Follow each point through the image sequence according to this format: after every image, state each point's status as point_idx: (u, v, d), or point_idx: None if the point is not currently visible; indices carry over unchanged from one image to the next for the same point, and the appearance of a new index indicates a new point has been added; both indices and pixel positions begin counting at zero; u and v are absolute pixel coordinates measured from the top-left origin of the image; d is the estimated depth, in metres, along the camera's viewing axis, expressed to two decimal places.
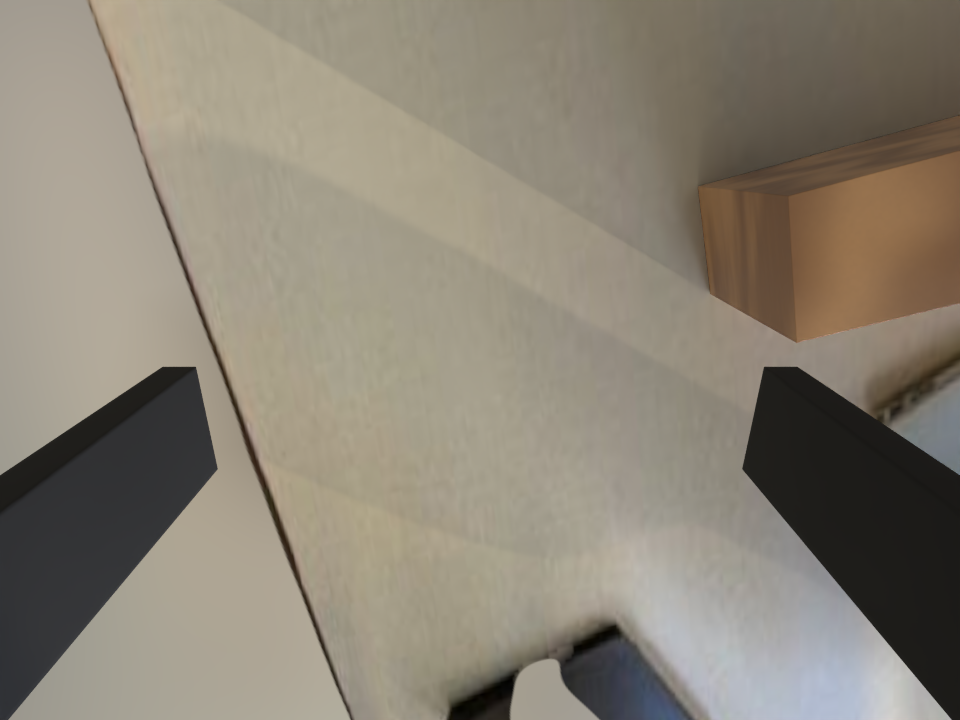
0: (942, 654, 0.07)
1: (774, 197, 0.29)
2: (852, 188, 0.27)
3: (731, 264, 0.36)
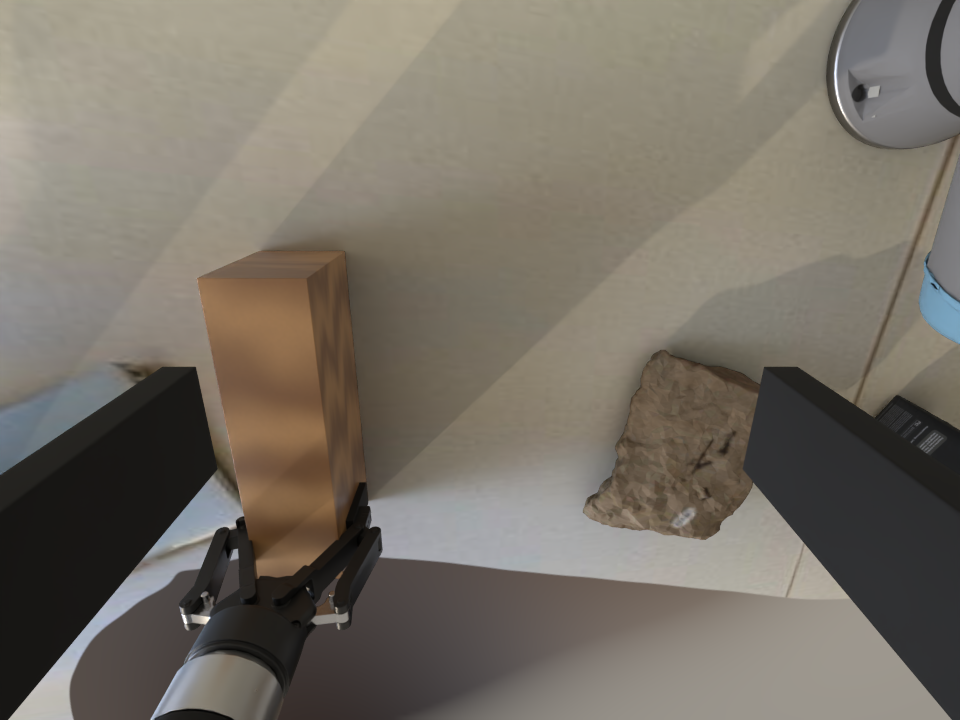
0: (942, 654, 0.07)
1: (309, 274, 0.41)
2: (305, 319, 0.41)
3: (275, 259, 0.47)
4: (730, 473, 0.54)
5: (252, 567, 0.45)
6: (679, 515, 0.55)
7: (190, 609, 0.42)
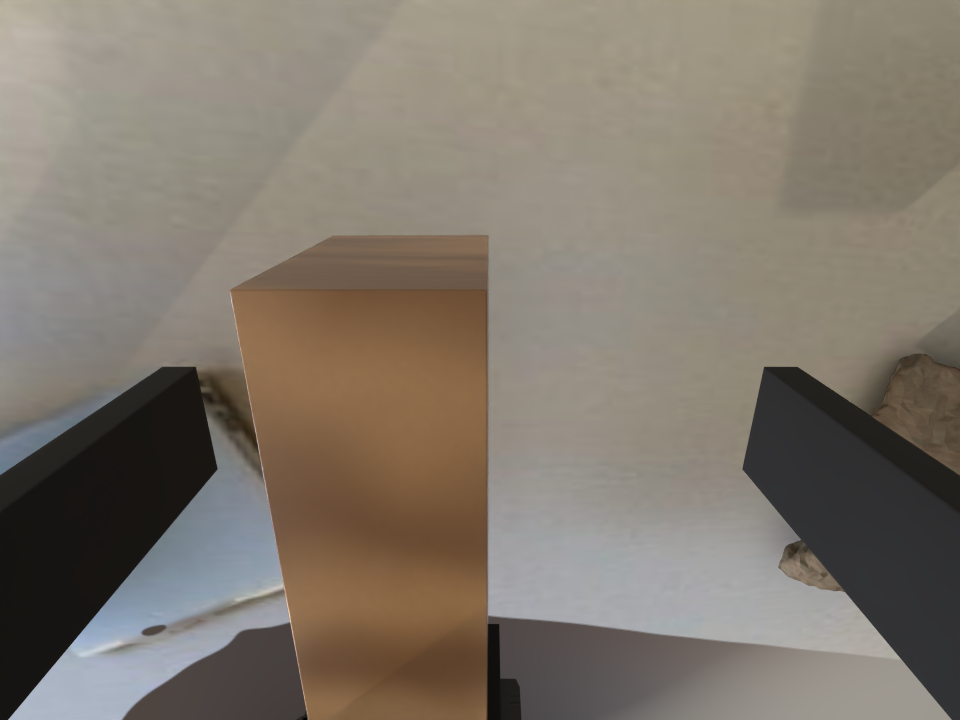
0: (942, 655, 0.07)
1: (482, 280, 0.18)
2: (472, 382, 0.18)
3: (375, 249, 0.24)
4: None
5: None
6: None
7: None
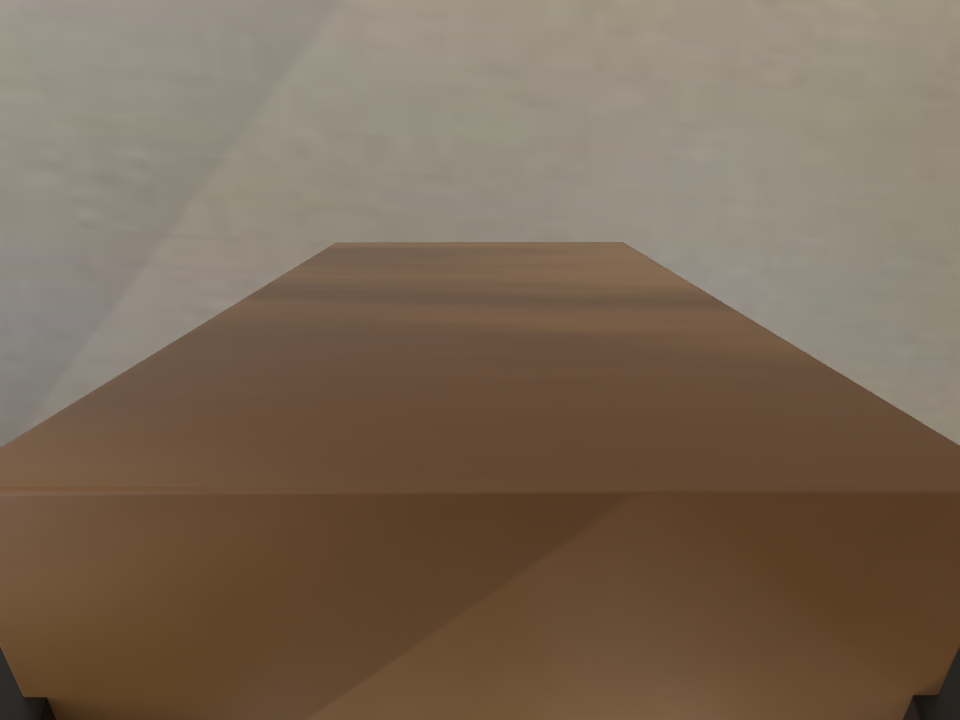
0: None
1: (888, 411, 0.05)
2: None
3: (435, 275, 0.11)
4: None
5: None
6: None
7: None
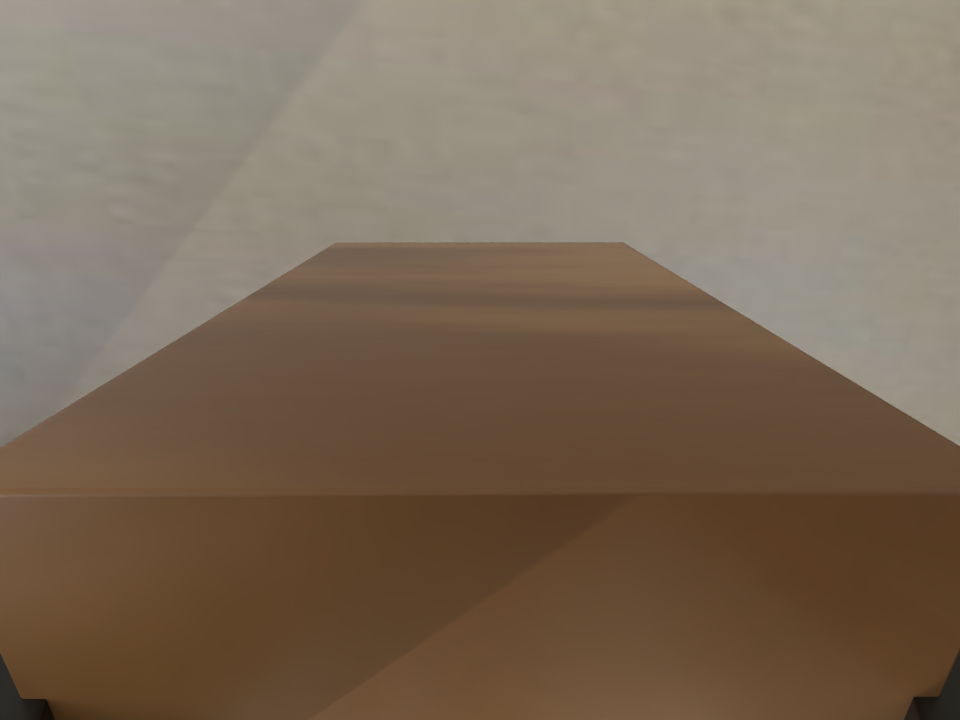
0: None
1: (889, 411, 0.05)
2: None
3: (434, 275, 0.11)
4: None
5: None
6: None
7: None
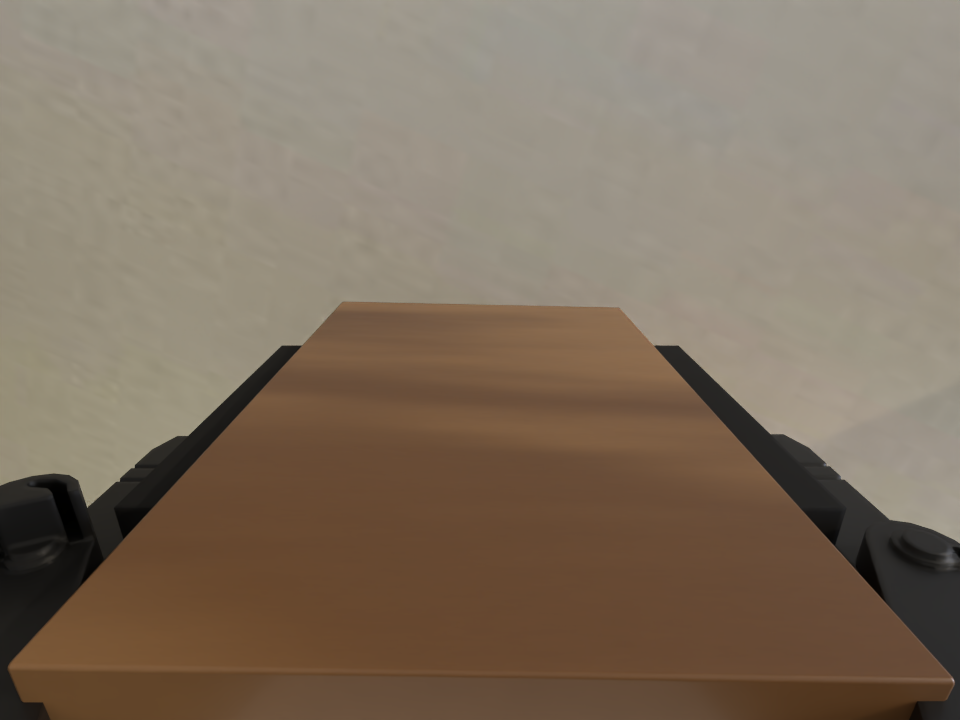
0: None
1: (845, 572, 0.06)
2: None
3: (439, 357, 0.12)
4: None
5: None
6: None
7: None
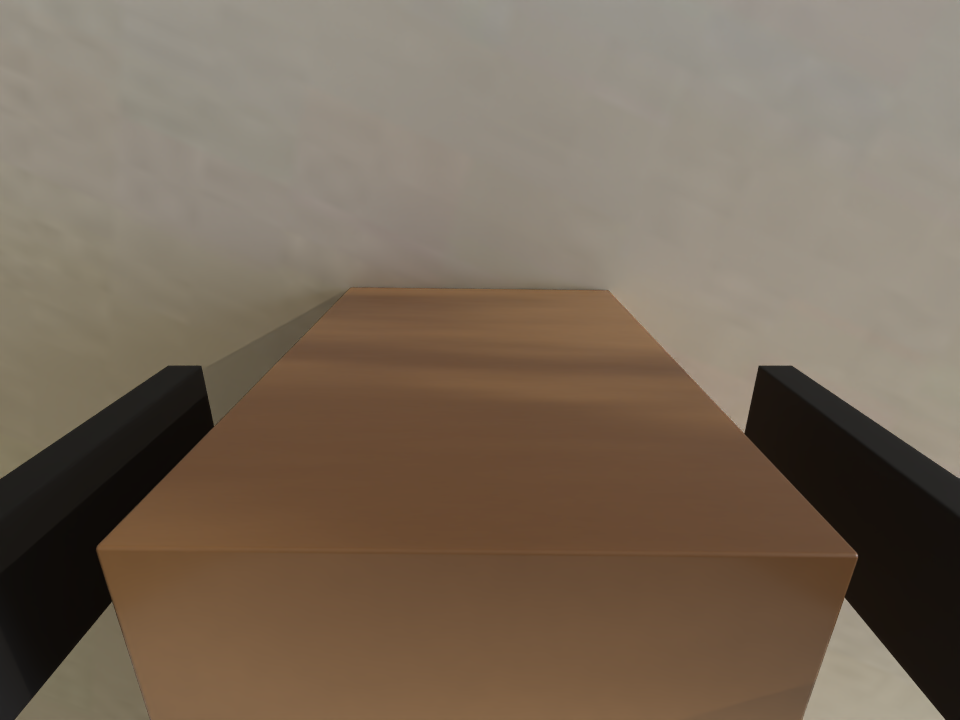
0: (932, 650, 0.07)
1: (781, 485, 0.07)
2: None
3: (440, 331, 0.13)
4: None
5: None
6: None
7: None
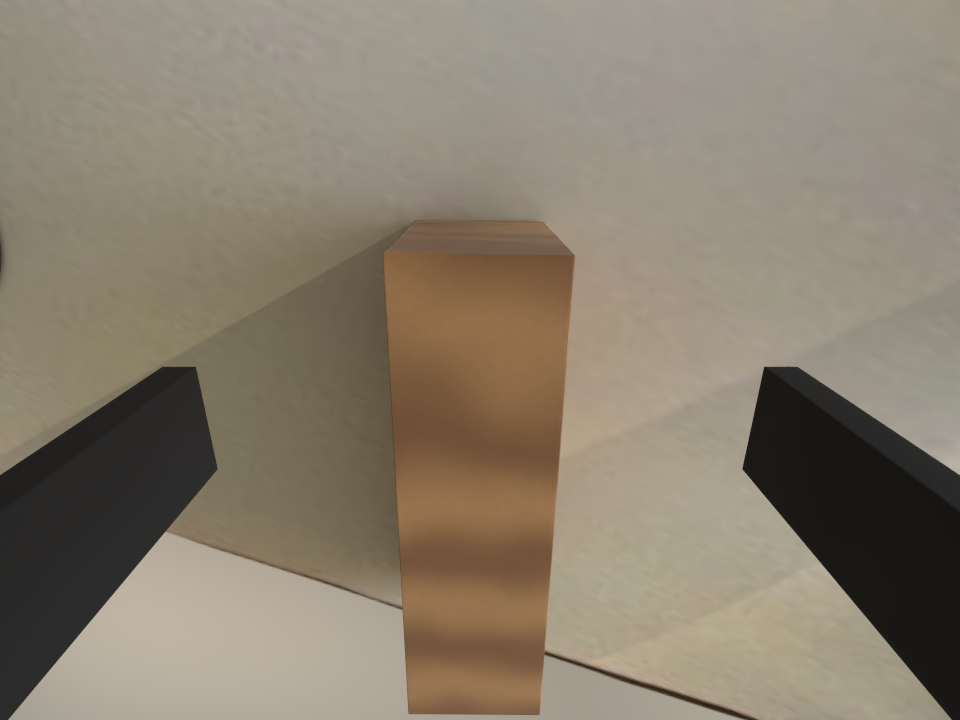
0: (942, 654, 0.07)
1: (566, 250, 0.24)
2: (558, 326, 0.24)
3: (462, 230, 0.30)
4: None
5: None
6: None
7: None
